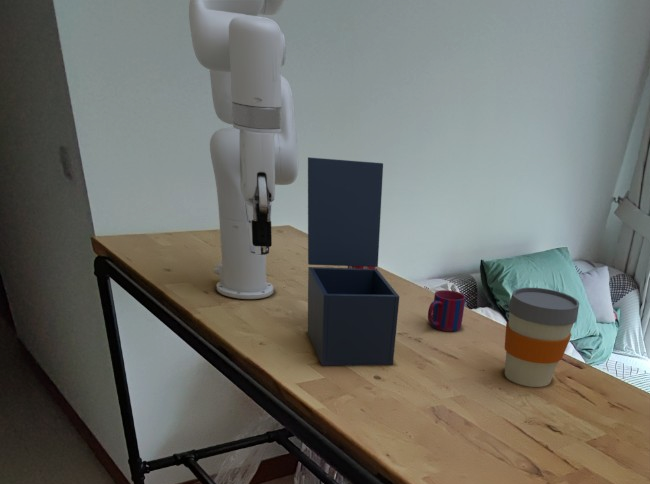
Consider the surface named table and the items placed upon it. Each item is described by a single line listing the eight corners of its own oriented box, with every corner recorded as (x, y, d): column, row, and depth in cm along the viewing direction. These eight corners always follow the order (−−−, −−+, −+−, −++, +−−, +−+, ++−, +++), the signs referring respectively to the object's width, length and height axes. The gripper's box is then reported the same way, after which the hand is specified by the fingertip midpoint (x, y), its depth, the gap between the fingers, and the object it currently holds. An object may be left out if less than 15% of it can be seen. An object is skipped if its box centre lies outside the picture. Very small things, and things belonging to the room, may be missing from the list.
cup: (467, 328, 142) (472, 297, 138) (435, 336, 137) (439, 304, 133) (445, 319, 146) (450, 288, 142) (413, 326, 140) (417, 294, 136)
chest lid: (383, 163, 117) (382, 163, 117) (308, 157, 113) (307, 157, 114) (377, 266, 126) (376, 266, 127) (308, 264, 122) (307, 263, 123)
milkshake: (279, 251, 116) (278, 189, 110) (264, 257, 112) (263, 193, 105) (257, 246, 117) (255, 184, 110) (241, 252, 112) (238, 188, 106)
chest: (393, 364, 122) (399, 296, 114) (321, 365, 118) (323, 294, 111) (372, 332, 134) (377, 268, 127) (307, 332, 131) (308, 266, 123)
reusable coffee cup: (483, 366, 126) (498, 287, 117) (537, 362, 131) (555, 286, 122) (516, 393, 118) (535, 311, 108) (572, 388, 122) (595, 308, 113)
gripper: (228, 109, 107) (234, 228, 118) (236, 124, 94) (242, 255, 106) (274, 113, 109) (276, 230, 120) (288, 129, 96) (288, 257, 108)
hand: (260, 240), depth 113 cm, fingers closed on milkshake, 4 cm apart
